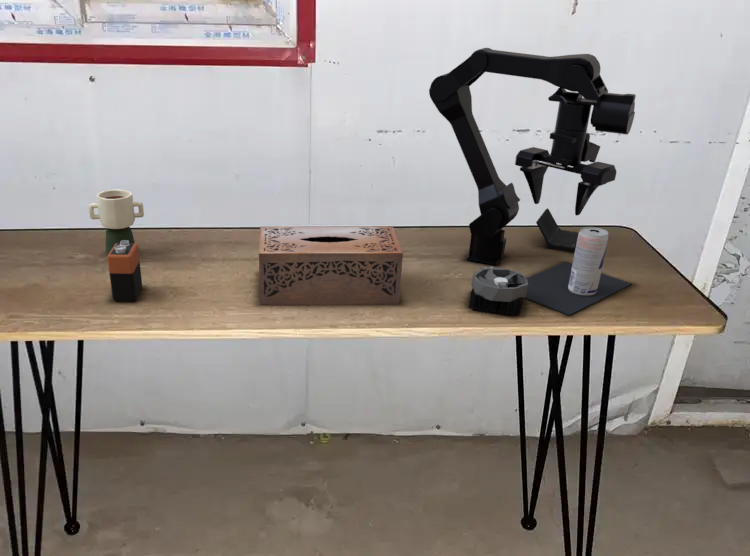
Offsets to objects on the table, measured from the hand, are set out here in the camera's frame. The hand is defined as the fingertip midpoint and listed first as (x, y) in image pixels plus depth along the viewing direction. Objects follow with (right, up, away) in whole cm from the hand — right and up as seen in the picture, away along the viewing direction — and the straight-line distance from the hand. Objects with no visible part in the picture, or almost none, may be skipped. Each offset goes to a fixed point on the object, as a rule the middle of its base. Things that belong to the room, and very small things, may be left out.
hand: (556, 209), depth 152 cm
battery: (-83, -18, -6) cm, 85 cm away
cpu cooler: (-14, -20, -8) cm, 25 cm away
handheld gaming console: (+7, -3, +22) cm, 23 cm away
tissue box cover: (-45, -16, -2) cm, 48 cm away
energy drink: (+4, -17, -3) cm, 17 cm away
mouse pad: (+2, -15, -1) cm, 16 cm away
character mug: (-88, -7, +12) cm, 89 cm away
